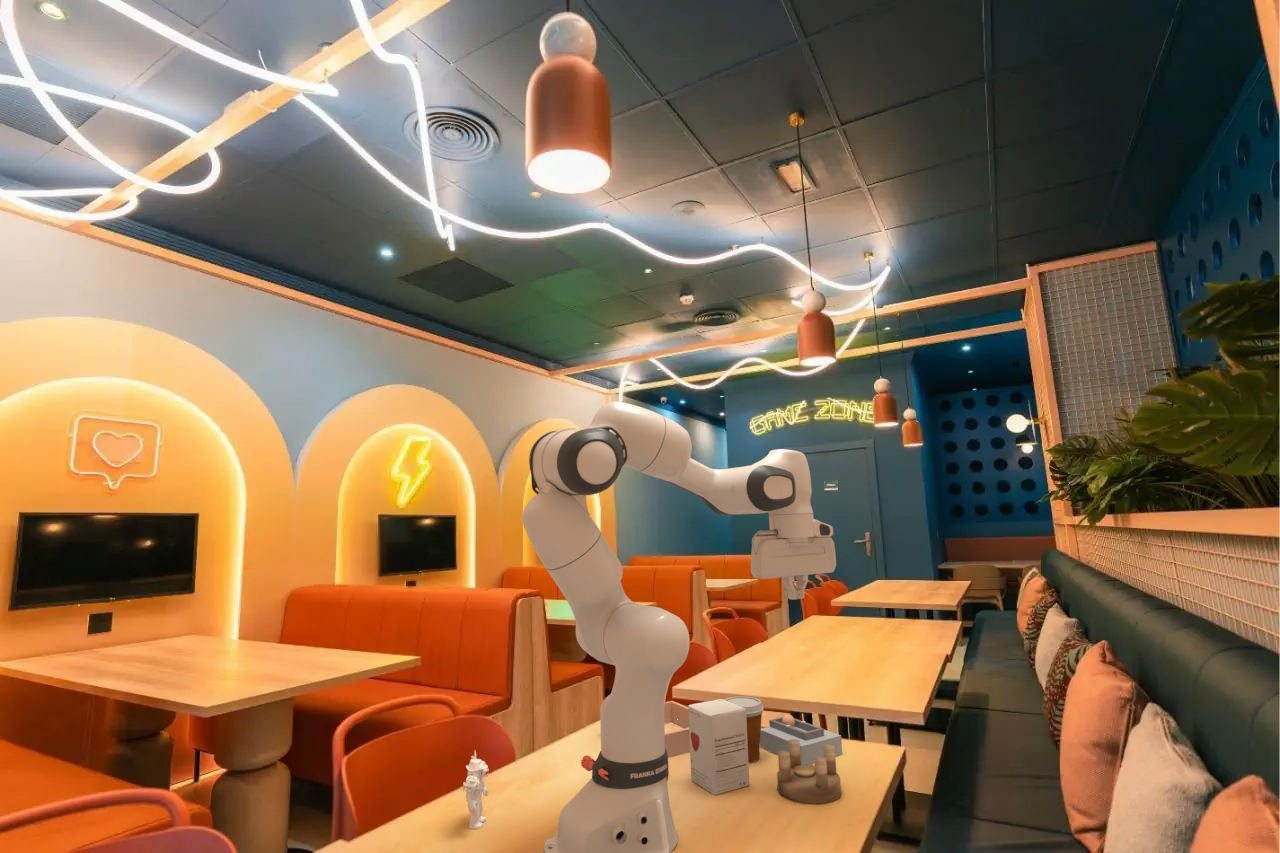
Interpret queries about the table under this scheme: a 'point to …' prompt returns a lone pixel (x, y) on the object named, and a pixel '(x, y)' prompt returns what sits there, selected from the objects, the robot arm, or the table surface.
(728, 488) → the robot arm
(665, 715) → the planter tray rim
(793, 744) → the dial
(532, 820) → the table surface
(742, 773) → the supplement box
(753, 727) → the disposable coffee cup
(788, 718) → the indicator ball
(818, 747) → the stand
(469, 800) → the flower shoulder figurine
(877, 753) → the table surface
